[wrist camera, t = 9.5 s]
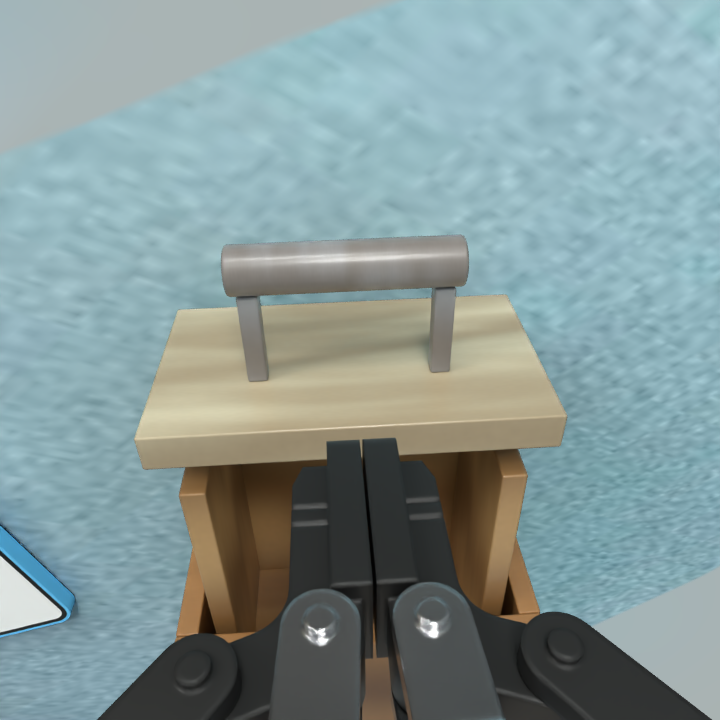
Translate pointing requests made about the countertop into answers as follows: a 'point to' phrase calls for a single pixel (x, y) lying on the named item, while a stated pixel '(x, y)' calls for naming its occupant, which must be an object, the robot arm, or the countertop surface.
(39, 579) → the smartphone
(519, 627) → the robot arm
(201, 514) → the drawer
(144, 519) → the countertop surface
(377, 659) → the cabinet
